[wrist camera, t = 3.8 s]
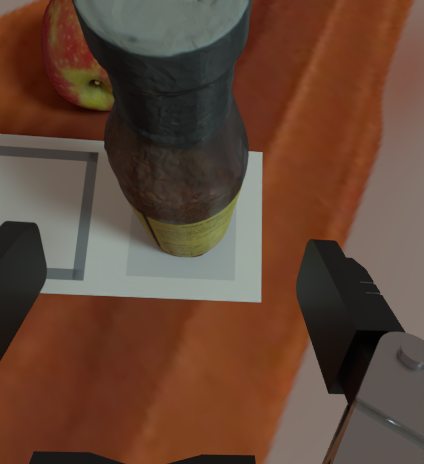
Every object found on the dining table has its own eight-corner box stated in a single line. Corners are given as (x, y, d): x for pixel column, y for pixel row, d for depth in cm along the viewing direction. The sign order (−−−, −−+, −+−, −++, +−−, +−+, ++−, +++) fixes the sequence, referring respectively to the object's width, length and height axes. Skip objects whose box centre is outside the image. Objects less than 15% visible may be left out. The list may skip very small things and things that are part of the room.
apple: (57, 123, 28) (8, 51, 20) (69, 34, 30) (28, -64, 22) (158, 129, 29) (148, 61, 21) (163, 41, 30) (155, -52, 23)
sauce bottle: (242, 213, 27) (383, -25, 8) (194, 277, 26) (221, 182, 7) (175, 164, 28) (153, -173, 8) (124, 225, 26) (-44, -9, 7)
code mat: (-63, 288, 25) (-66, 288, 24) (-31, 132, 27) (-32, 131, 27) (260, 302, 26) (261, 302, 26) (261, 153, 29) (262, 152, 28)
